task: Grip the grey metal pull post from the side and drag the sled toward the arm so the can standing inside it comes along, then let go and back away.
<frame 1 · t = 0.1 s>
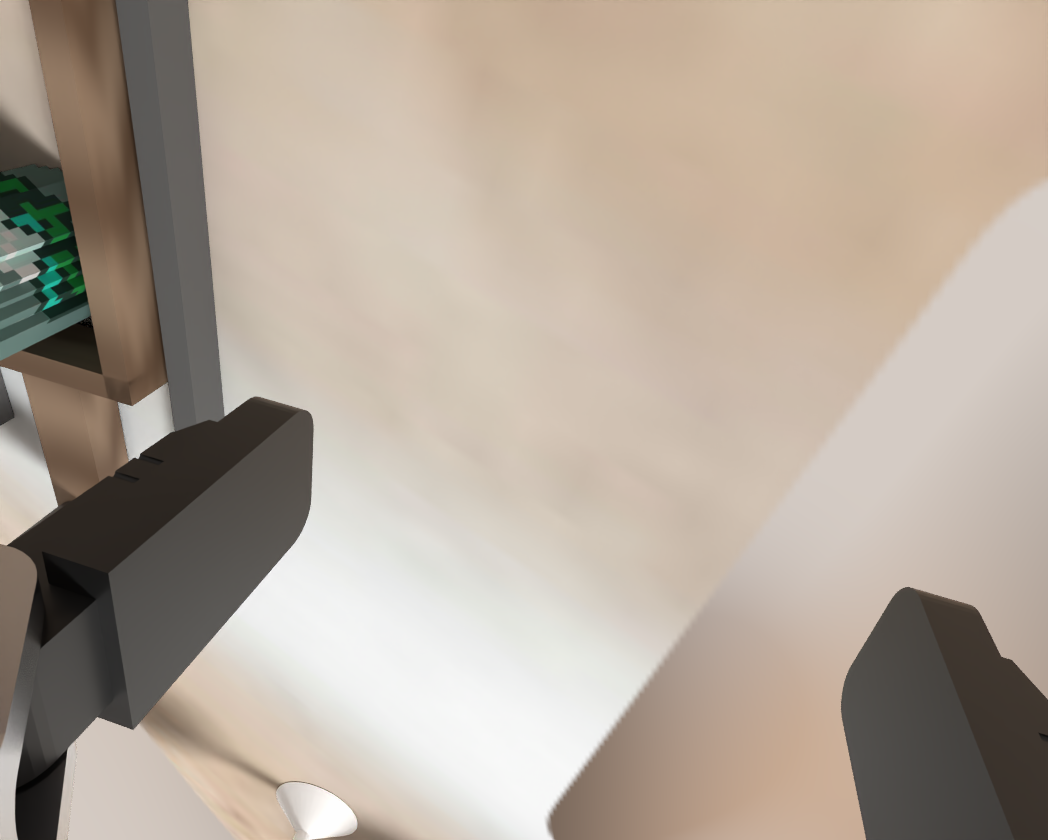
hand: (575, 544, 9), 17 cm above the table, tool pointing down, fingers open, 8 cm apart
champagne flute: (317, 807, 52), on the table
can: (71, 238, 31), resting in pull sled
lane rails: (60, 206, 30), on the table
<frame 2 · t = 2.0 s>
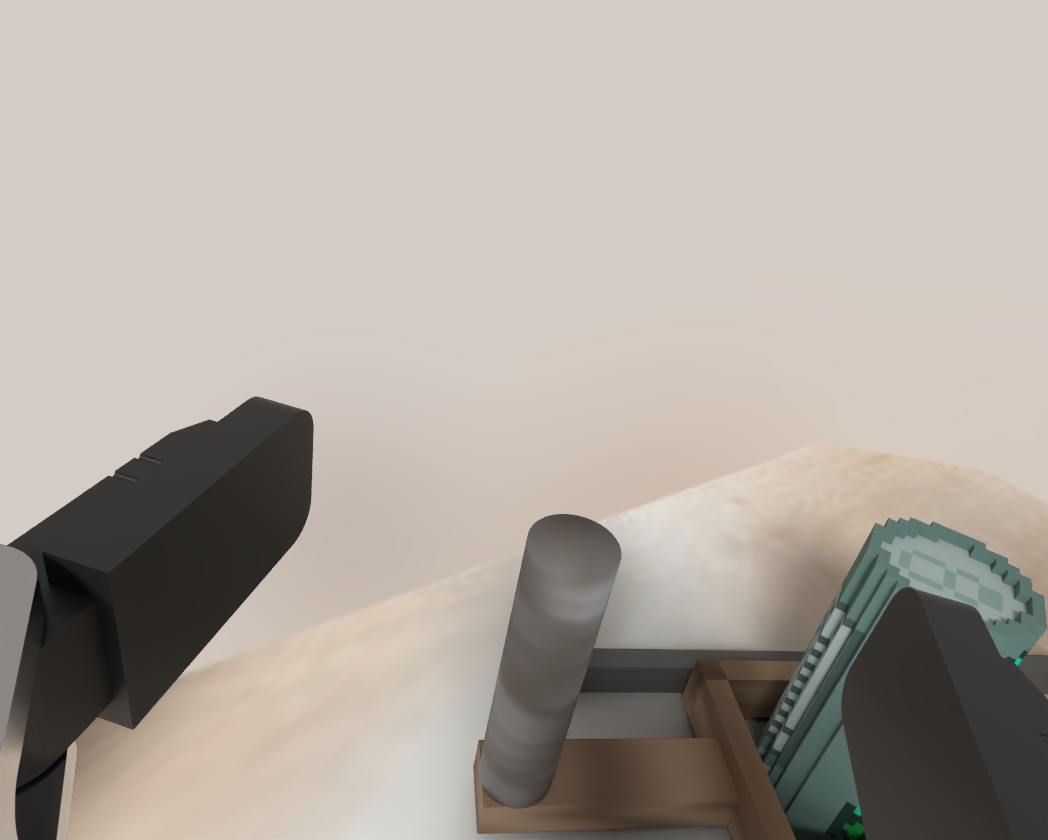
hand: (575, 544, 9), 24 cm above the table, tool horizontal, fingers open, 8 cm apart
pull sled: (838, 690, 29), point 8 cm above the table, slide at 0.0 cm
can: (807, 798, 34), resting in pull sled
lane rails: (836, 795, 34), on the table
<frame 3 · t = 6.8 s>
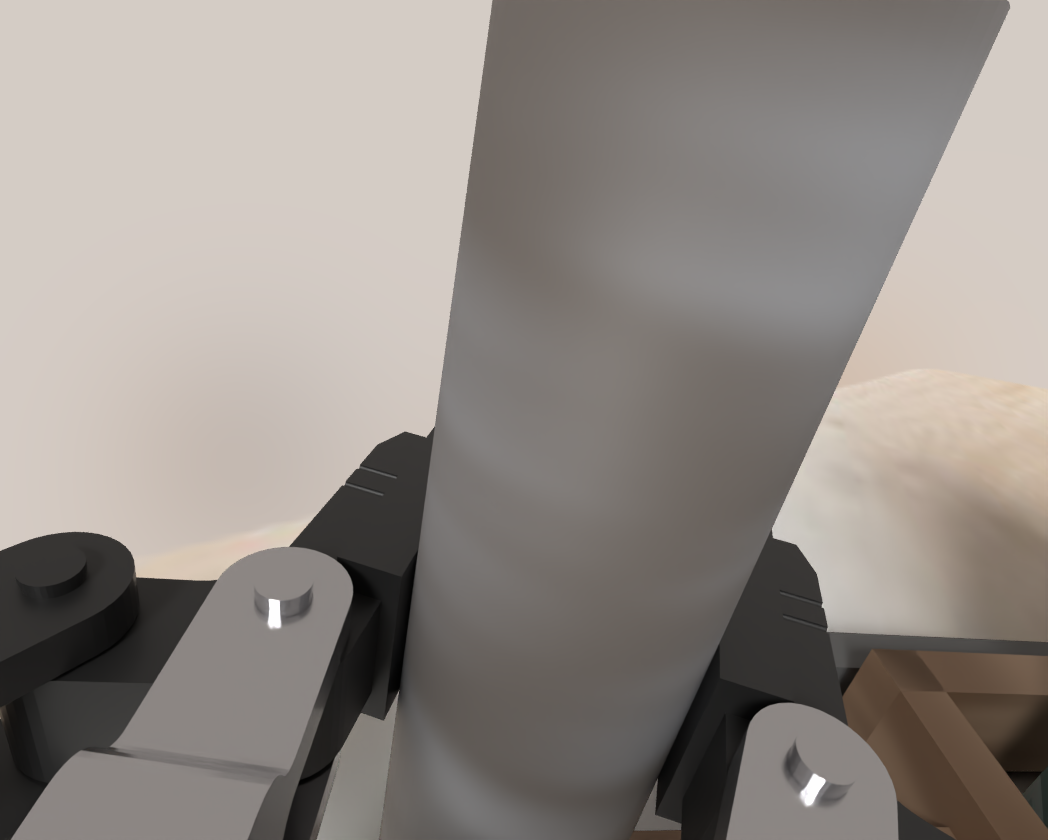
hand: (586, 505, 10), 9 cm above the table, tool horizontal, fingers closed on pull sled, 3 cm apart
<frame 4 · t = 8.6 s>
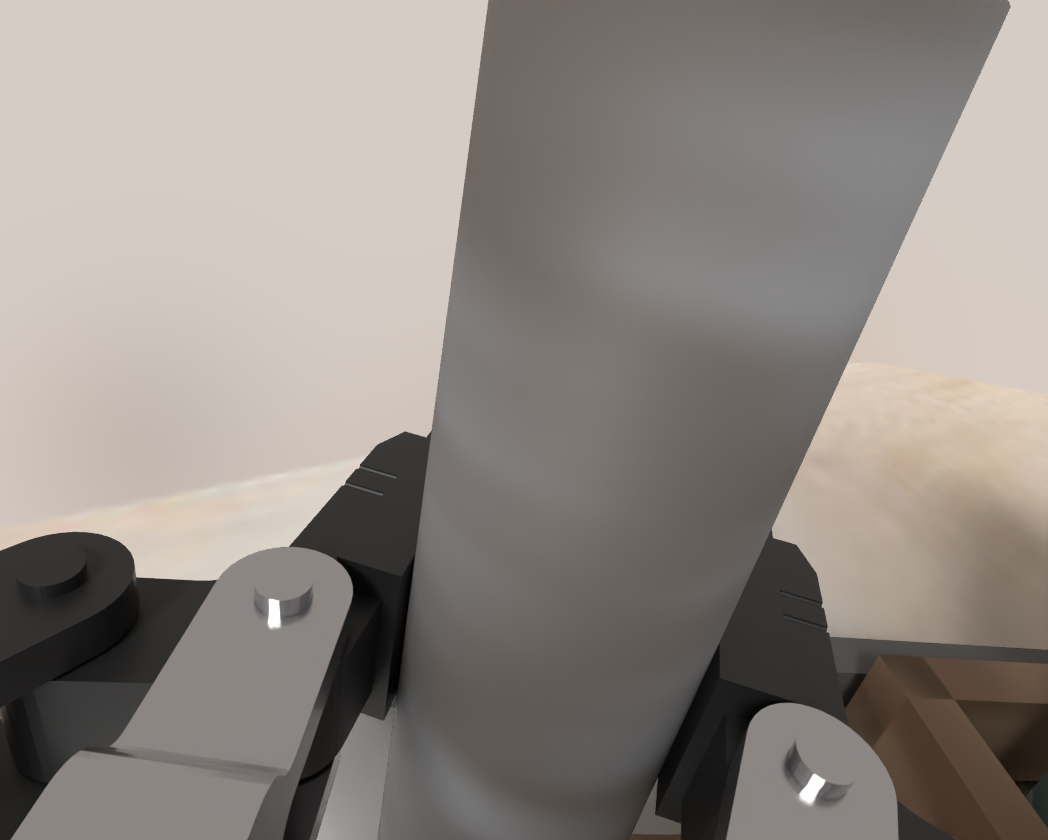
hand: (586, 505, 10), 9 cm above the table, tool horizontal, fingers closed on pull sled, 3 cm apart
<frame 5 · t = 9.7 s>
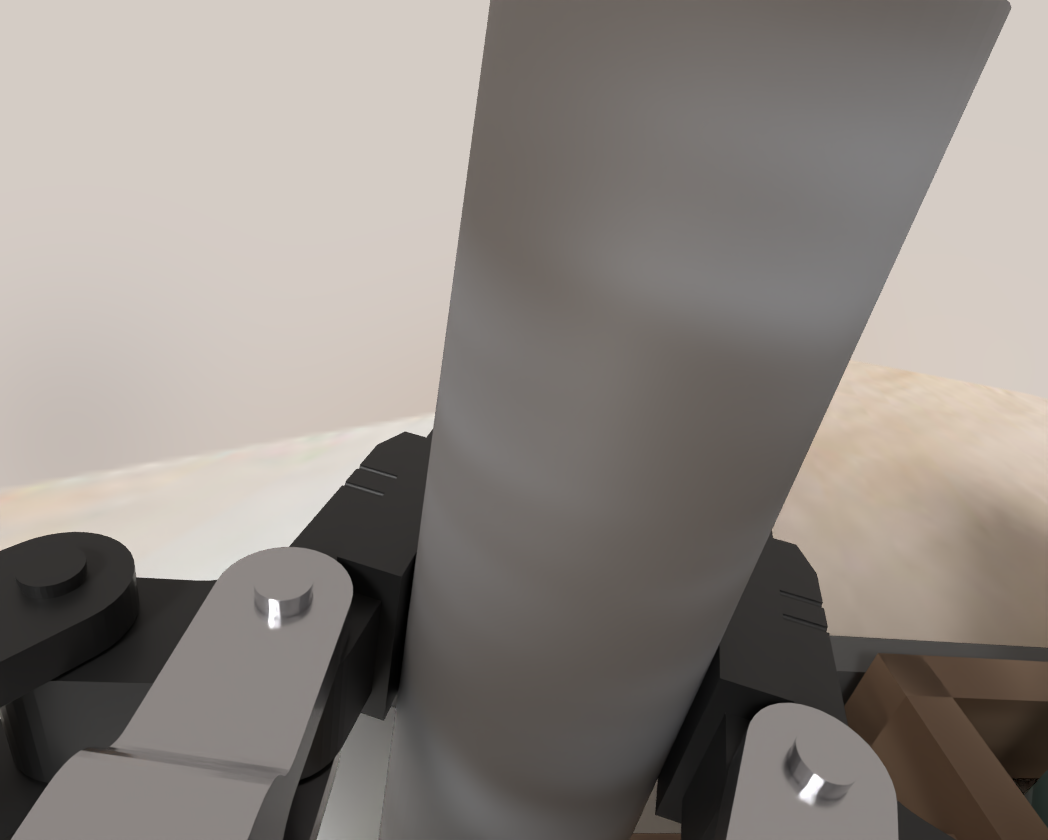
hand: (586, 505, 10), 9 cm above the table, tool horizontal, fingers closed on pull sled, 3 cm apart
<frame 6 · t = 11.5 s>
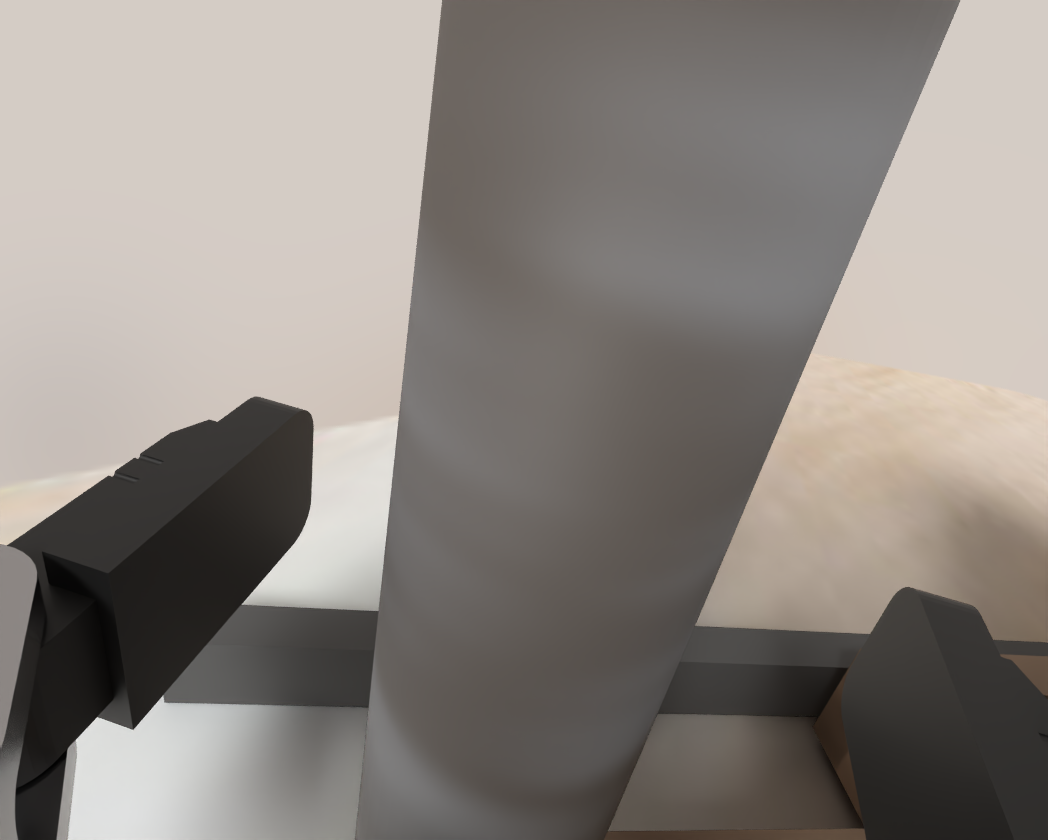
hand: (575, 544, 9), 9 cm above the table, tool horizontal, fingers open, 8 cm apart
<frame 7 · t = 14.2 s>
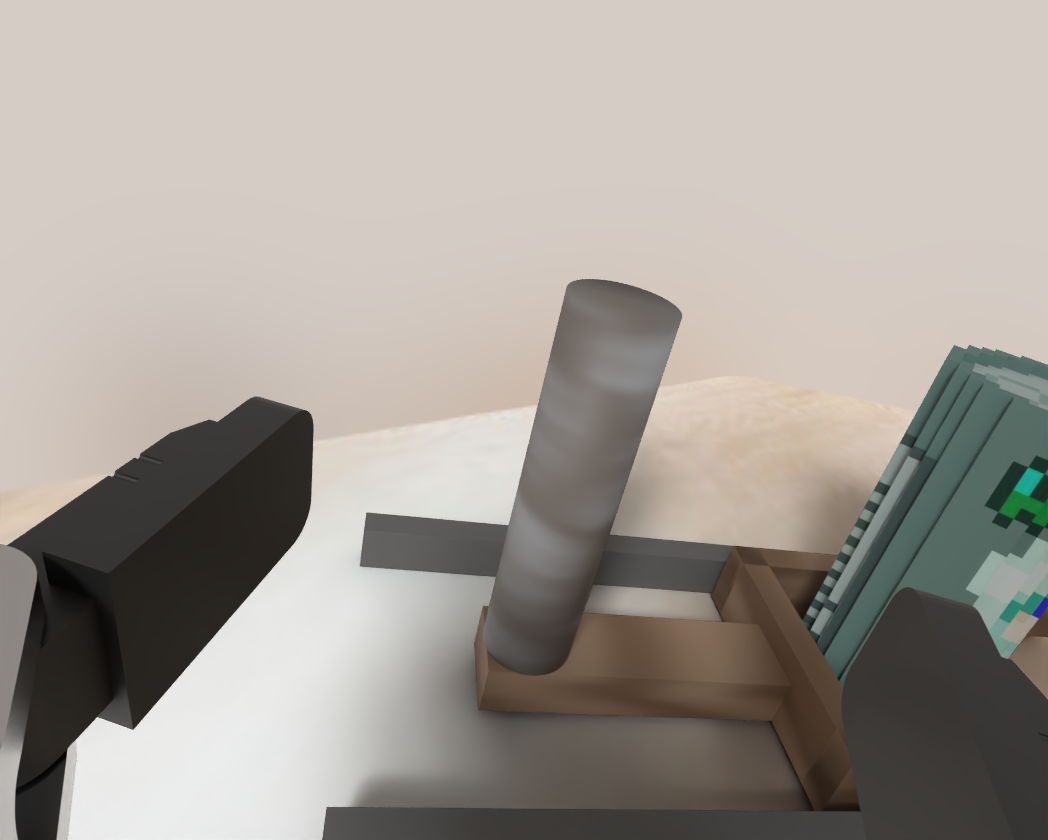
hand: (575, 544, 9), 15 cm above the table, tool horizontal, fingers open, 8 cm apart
pull sled: (913, 552, 25), point 8 cm above the table, slide at 9.7 cm
can: (847, 709, 29), resting in pull sled
lane rails: (680, 693, 27), on the table
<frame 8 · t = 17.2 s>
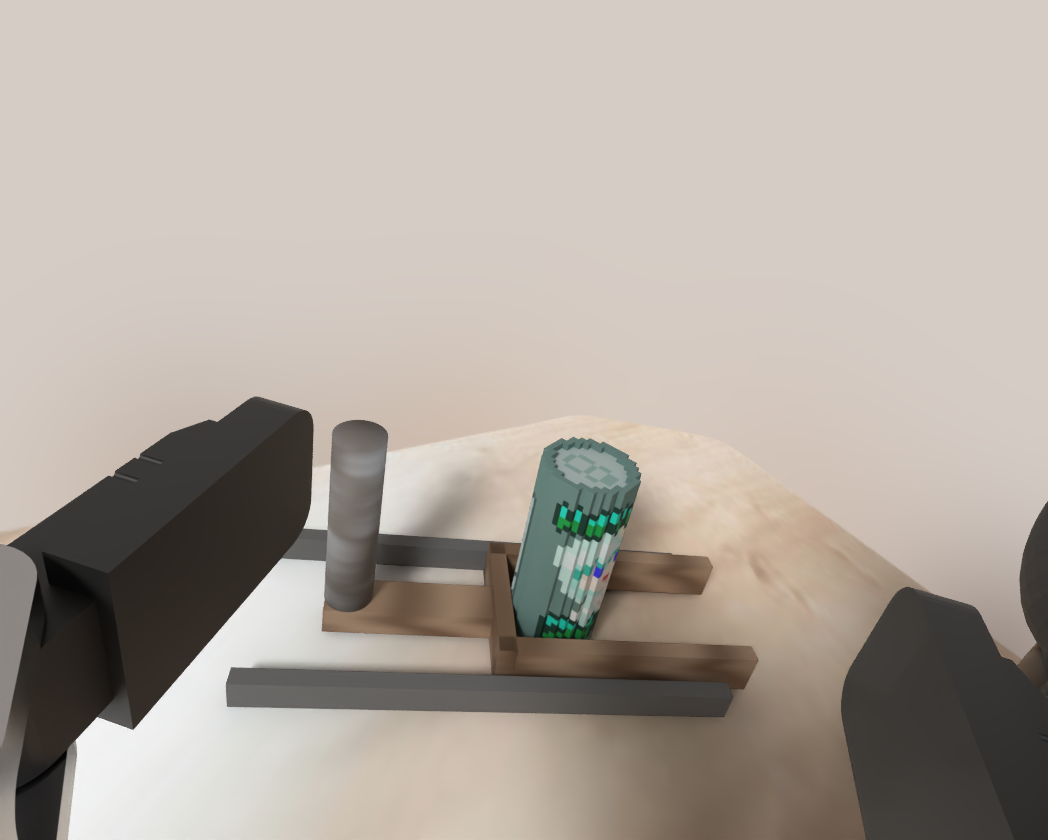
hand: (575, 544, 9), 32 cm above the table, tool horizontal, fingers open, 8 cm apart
pull sled: (551, 545, 47), point 8 cm above the table, slide at 9.7 cm
can: (545, 633, 51), resting in pull sled
jar: (1029, 834, 44), on the table
lane rails: (443, 624, 50), on the table
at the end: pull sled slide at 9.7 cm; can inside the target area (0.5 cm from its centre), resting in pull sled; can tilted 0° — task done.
